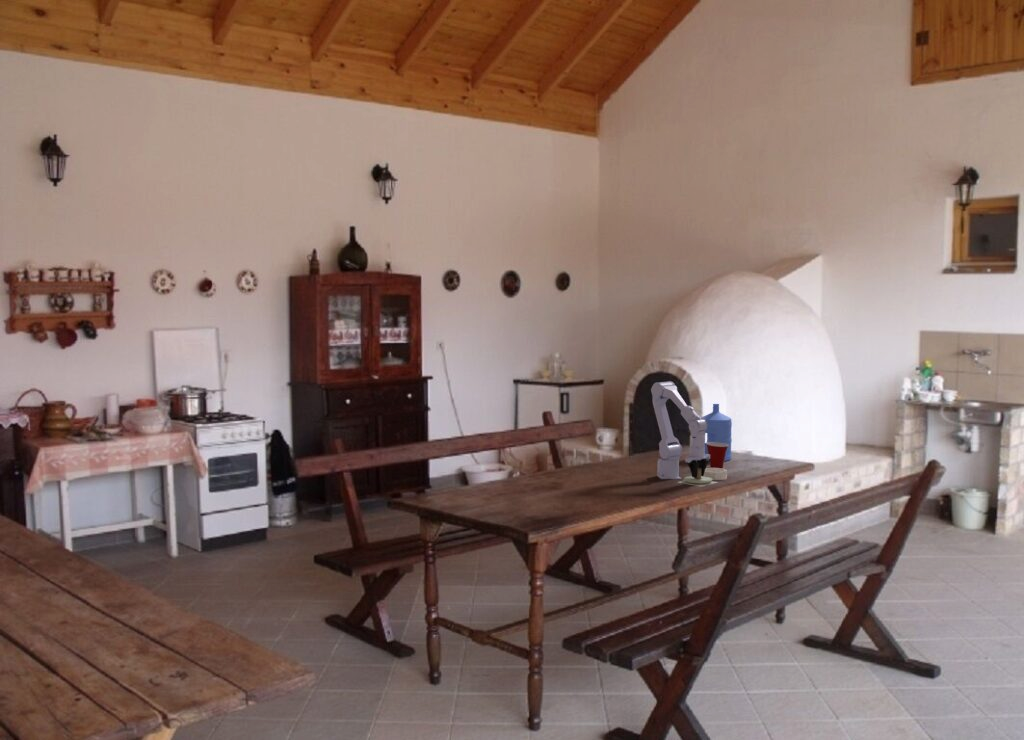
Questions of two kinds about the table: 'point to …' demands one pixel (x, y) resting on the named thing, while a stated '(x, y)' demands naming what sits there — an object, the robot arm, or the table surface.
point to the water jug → (718, 430)
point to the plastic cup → (716, 453)
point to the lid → (698, 478)
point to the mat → (697, 484)
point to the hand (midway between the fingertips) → (697, 476)
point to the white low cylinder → (716, 473)
